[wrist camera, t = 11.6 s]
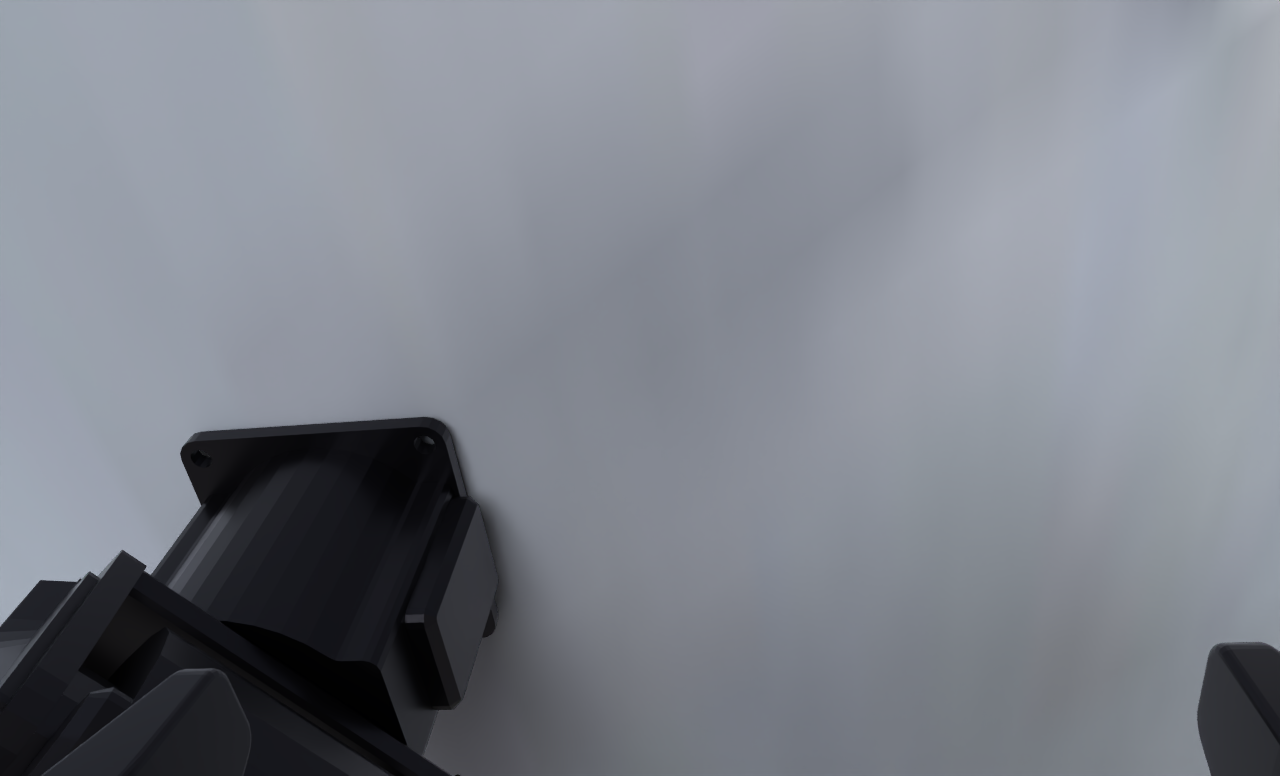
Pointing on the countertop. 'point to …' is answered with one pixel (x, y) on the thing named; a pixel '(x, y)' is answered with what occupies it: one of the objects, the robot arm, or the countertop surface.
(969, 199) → the countertop surface
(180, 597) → the robot arm
